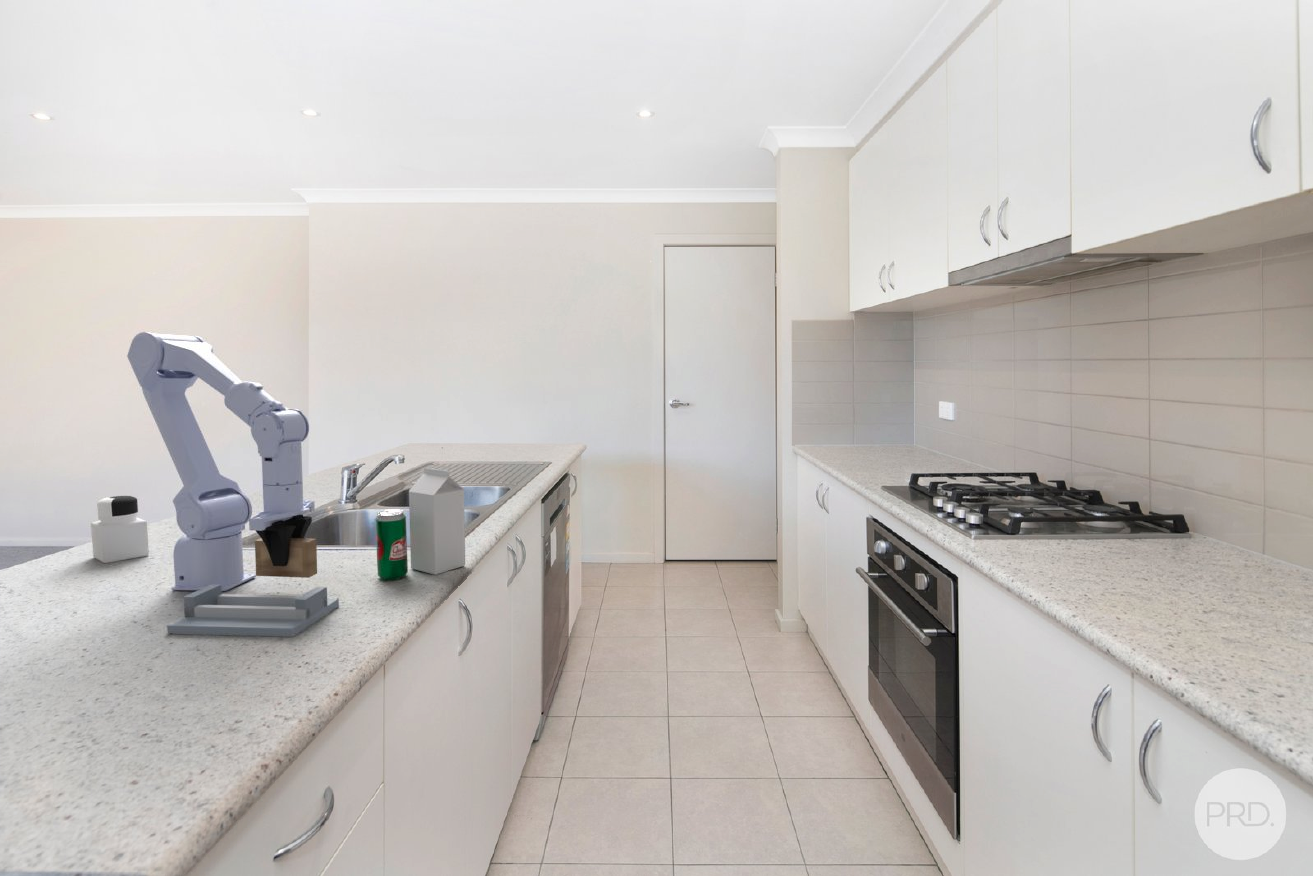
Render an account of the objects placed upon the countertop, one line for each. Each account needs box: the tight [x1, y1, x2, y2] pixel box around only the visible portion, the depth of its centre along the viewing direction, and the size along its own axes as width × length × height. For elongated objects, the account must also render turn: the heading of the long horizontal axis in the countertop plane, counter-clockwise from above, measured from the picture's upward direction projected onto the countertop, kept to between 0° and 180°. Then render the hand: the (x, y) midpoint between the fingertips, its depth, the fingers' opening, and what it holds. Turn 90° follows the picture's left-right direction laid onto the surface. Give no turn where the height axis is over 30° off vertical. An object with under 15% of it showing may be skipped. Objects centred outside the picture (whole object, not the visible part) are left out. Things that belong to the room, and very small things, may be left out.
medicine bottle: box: [90, 495, 150, 564], centre depth 125 cm, size 7×7×12 cm
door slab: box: [254, 537, 318, 579], centre depth 106 cm, size 9×2×6 cm, turn 88°
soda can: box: [374, 508, 409, 581], centre depth 114 cm, size 5×5×12 cm
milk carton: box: [408, 467, 466, 575], centre depth 120 cm, size 7×7×19 cm
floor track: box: [166, 584, 340, 638], centre depth 94 cm, size 18×12×4 cm, turn 88°
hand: (285, 562), depth 106 cm, fingers closed on door slab, 2 cm apart
